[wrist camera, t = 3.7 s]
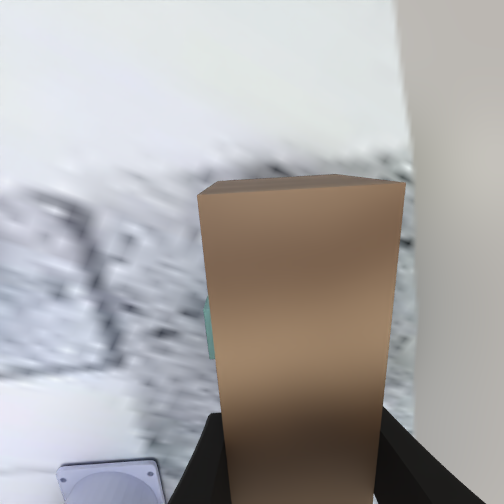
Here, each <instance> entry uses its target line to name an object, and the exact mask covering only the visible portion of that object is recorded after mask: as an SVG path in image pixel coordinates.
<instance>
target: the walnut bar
mask: <svg viewBox="0 0 504 504" xmlns="http://www.w3.org/2000/svg"><path fill="white" fill-rule="evenodd" d="M405 186H406V183H404V182H396V181H387V180H379V179H371V178H363V177H354V176H346V175H338V174H330V175H313V176H296V177H279V178H262V179H245V180H228V181H217V182H216V183H214V184H213V185H211V186H210V187H208V188H207V189H205V190H204V191H202V192H201V193H199V194H198V195H197V199H198V208H199V217H200V226H201V235H202V244H203V253H204V262H205V271H206V280H207V289H208V297H209V306H210V315H211V324H212V333H213V342H214V351H215V360H216V369H217V378H218V387H219V395H220V404H221V413H222V422H223V431H224V440H225V449H226V458H227V467H228V476H229V484H230V493H231V501H232V504H373V494H374V485H375V475H376V465H377V456H378V446H379V436H380V427H381V417H382V408H383V398H384V388H385V379H386V369H387V359H388V350H389V340H390V330H391V321H392V311H393V302H394V292H395V282H396V273H397V263H398V253H399V244H400V234H401V224H402V215H403V205H404V195H405Z"/></svg>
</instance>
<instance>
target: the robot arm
mask: <svg viewBox="0 0 504 504" xmlns="http://www.w3.org/2000/svg"><path fill="white" fill-rule="evenodd" d="M56 477H57V480H58V483H59V486H60V489H61V491H62V494H63V497H64V500H65V504H165V499H164V495H163V490H162V486H161V481H160V476H159V472H158V467H157V464H156V462H155V461H153V460H145V461H131V462H117V463H103V464H89V465H75V466H63V467H60V468H59V469H58V470H57V472H56ZM374 495H375V497H376V499H377V502H378V504H486V503H484V502H483V501H482V500H481V499H480V498H479V497H477V496H476V495H475V494H474V493H473V492H471V491H470V490H469V489H468V488H467V487H466V486H465V485H464V484H463V483H461V482H460V481H459V480H458V479H457V478H456V477H455V476H454V475H452V474H451V473H450V472H449V471H448V470H447V469H446V468H445V467H444V466H443V465H441V463H440V462H439V461H437V460H436V459H435V458H434V457H433V456H432V455H431V454H430V453H429V452H428V451H427V450H426V449H425V448H424V447H423V446H422V445H421V444H420V443H419V442H418V441H417V440H416V439H415V438H414V437H413V436H412V435H411V434H410V433H409V432H408V431H407V430H406V429H405V428H404V427H403V426H402V425H401V424H400V423H399V422H398V421H397V420H396V419H395V418H394V417H393V416H392V415H391V414H390V413H389V412H388V411H387V410H386V409H385V408H384V407H383V408H382V417H381V427H380V436H379V446H378V456H377V465H376V475H375V485H374ZM168 504H232V501H231V493H230V484H229V476H228V467H227V458H226V449H225V440H224V431H223V422H222V413H211V414H210V415H209V416H208V418H207V421H206V424H205V427H204V429H203V432H202V434H201V437H200V439H199V442H198V444H197V446H196V448H195V451H194V453H193V455H192V457H191V459H190V461H189V463H188V465H187V467H186V469H185V471H184V473H183V476H182V478H181V480H180V481H179V483H178V485H177V487H176V489H175V491H174V493H173V495H172V496H171V498H170V500H169V502H168Z"/></svg>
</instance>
